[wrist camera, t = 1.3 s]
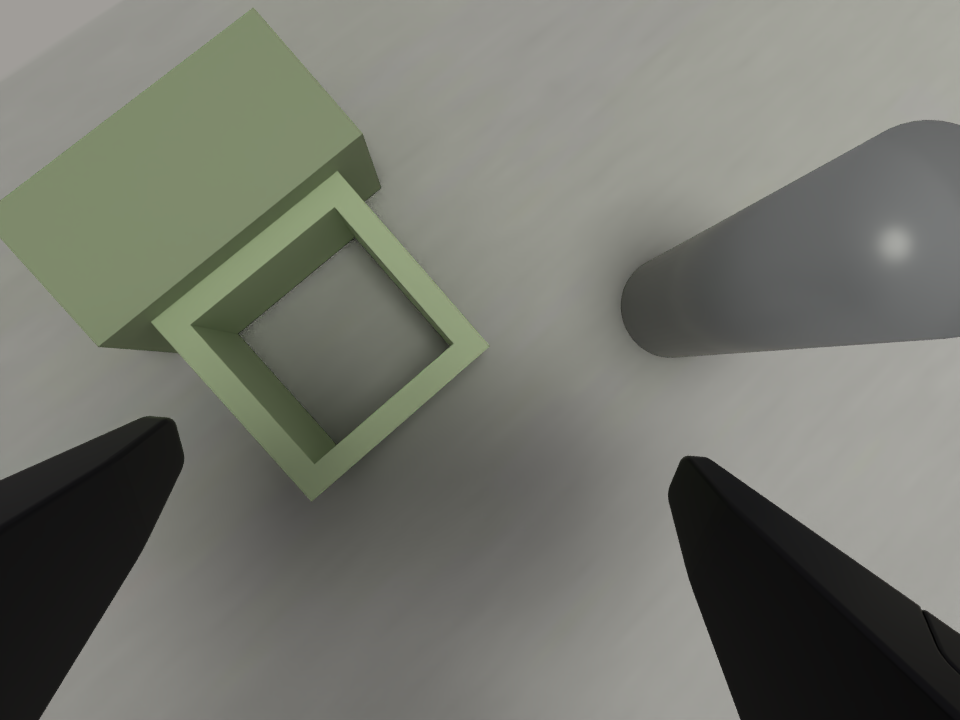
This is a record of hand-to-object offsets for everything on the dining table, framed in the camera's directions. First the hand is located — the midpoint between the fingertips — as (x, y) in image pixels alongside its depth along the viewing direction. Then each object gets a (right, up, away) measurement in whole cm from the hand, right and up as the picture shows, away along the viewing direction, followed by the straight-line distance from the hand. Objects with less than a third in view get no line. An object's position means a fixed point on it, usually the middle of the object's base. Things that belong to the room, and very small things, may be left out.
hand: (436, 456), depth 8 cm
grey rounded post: (+10, +4, +15) cm, 18 cm away
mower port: (-7, +5, +13) cm, 16 cm away
